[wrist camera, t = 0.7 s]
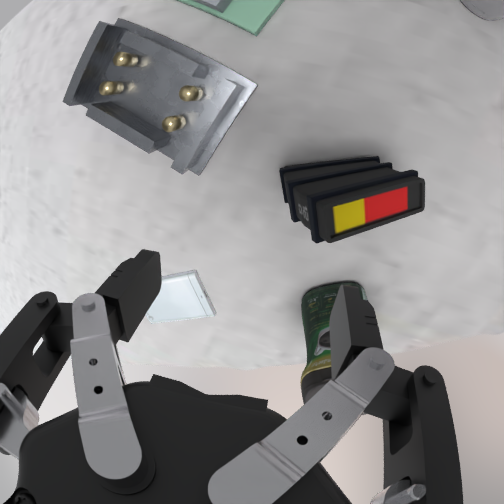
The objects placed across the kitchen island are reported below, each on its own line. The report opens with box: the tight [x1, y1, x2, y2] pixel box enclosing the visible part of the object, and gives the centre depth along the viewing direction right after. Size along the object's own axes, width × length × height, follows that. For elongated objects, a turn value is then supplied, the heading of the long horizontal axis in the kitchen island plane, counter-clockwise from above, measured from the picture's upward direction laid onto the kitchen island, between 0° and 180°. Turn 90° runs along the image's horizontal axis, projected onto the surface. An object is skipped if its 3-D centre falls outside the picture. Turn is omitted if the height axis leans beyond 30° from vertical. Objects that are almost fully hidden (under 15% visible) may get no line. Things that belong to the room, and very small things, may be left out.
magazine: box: [280, 156, 425, 243], centre depth 29 cm, size 4×13×15 cm, turn 101°
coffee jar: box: [301, 283, 367, 415], centre depth 35 cm, size 10×8×19 cm
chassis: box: [63, 18, 258, 176], centre depth 29 cm, size 21×13×6 cm, turn 57°
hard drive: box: [145, 270, 216, 323], centre depth 46 cm, size 2×8×12 cm
